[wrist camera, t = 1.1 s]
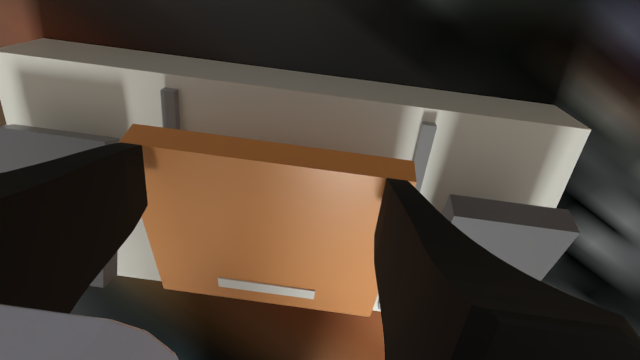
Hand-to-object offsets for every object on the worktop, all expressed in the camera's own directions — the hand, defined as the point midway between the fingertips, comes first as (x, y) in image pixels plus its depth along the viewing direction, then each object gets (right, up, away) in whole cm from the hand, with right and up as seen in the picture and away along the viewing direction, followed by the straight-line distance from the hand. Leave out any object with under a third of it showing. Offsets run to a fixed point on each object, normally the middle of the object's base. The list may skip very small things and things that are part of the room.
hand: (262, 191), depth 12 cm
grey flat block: (+8, -3, +3) cm, 9 cm away
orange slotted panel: (0, -2, +3) cm, 4 cm away
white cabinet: (0, +1, +8) cm, 8 cm away
